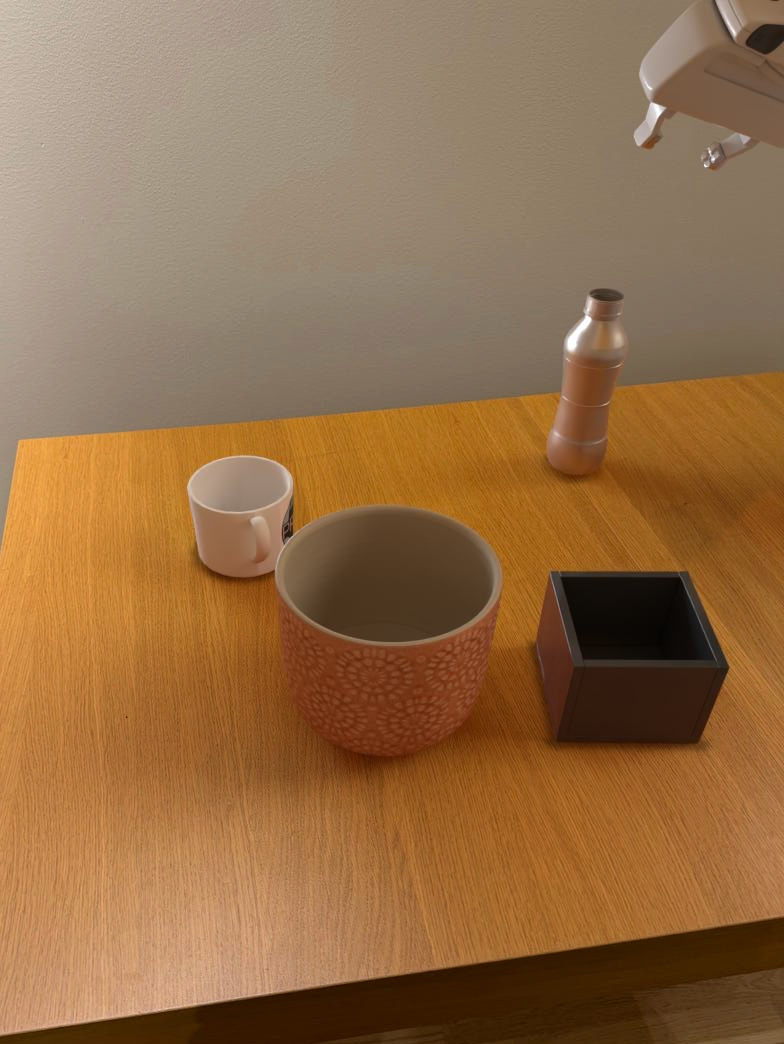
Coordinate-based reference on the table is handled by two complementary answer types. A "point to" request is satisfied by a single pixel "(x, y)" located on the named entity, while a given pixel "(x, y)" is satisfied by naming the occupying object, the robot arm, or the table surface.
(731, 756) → the table surface
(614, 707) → the dark square storage bin
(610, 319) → the silver metal bottle
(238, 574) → the mug
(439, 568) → the planter
